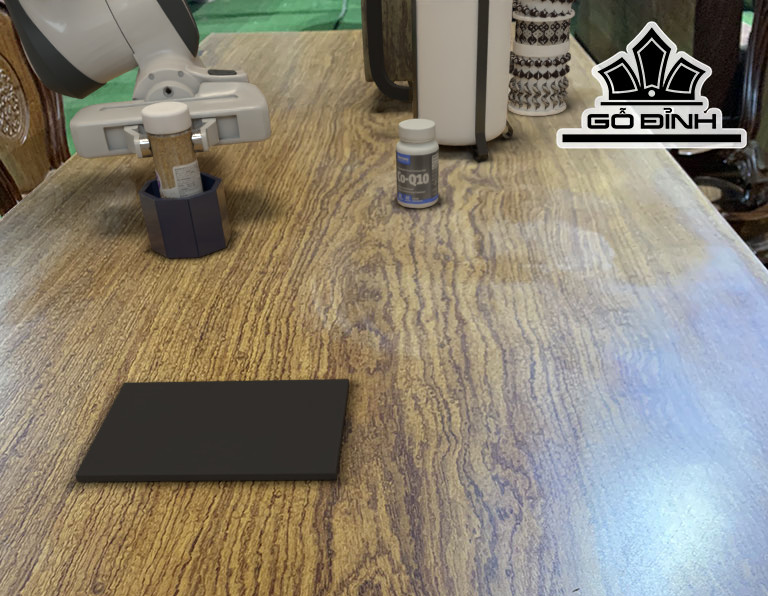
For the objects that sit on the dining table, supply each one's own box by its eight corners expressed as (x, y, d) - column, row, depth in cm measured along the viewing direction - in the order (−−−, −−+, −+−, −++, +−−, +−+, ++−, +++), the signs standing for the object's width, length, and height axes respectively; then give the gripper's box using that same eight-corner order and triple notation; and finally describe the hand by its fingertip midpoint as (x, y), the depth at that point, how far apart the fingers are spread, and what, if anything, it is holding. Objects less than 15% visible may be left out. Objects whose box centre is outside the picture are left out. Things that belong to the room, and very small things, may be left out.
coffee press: (490, 120, 117) (500, -152, 97) (534, 154, 105) (556, -148, 85) (371, 136, 114) (356, -142, 94) (403, 172, 102) (394, -136, 82)
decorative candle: (550, 120, 116) (568, -102, 99) (493, 111, 120) (501, -103, 104) (580, 104, 121) (602, -109, 105) (524, 96, 125) (537, -110, 109)
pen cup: (145, 259, 85) (131, 200, 81) (164, 228, 91) (152, 173, 87) (221, 257, 85) (211, 198, 81) (235, 226, 91) (226, 170, 87)
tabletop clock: (376, 89, 132) (367, -105, 116) (432, 88, 131) (432, -108, 115) (366, 115, 121) (355, -95, 105) (428, 114, 120) (426, -99, 104)
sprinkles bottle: (163, 241, 89) (132, 106, 80) (202, 230, 90) (176, 97, 82) (181, 254, 86) (151, 116, 77) (220, 243, 88) (195, 106, 79)
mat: (77, 482, 57) (74, 475, 57) (125, 388, 66) (123, 382, 66) (336, 480, 56) (335, 473, 56) (349, 385, 65) (348, 378, 65)
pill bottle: (392, 207, 93) (389, 128, 88) (403, 192, 97) (401, 116, 91) (432, 210, 92) (432, 130, 86) (443, 195, 95) (443, 117, 90)
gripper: (69, 86, 88) (53, 122, 78) (260, 69, 90) (270, 102, 80) (85, 148, 92) (72, 190, 82) (268, 130, 94) (278, 169, 84)
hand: (172, 146), depth 81 cm, fingers closed on sprinkles bottle, 4 cm apart
